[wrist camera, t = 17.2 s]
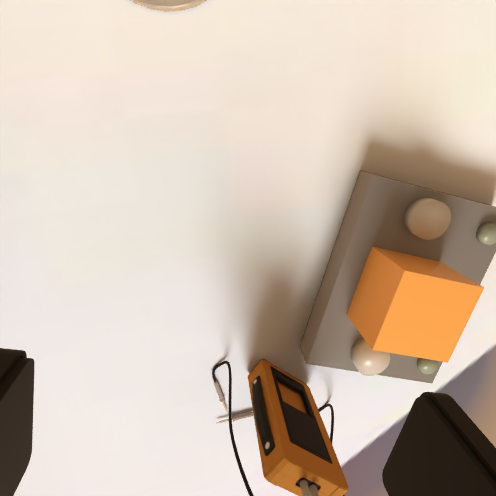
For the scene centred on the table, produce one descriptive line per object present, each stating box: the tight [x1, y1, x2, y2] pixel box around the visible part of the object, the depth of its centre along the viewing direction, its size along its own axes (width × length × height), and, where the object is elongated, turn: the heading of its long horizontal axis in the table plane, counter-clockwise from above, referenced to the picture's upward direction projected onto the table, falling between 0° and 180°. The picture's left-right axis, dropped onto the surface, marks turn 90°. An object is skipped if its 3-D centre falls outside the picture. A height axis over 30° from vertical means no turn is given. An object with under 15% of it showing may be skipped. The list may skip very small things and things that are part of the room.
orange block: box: [347, 247, 484, 362], centre depth 33 cm, size 7×7×6 cm
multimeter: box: [212, 360, 348, 496], centre depth 33 cm, size 15×10×20 cm
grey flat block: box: [300, 171, 496, 383], centre depth 37 cm, size 20×15×4 cm
